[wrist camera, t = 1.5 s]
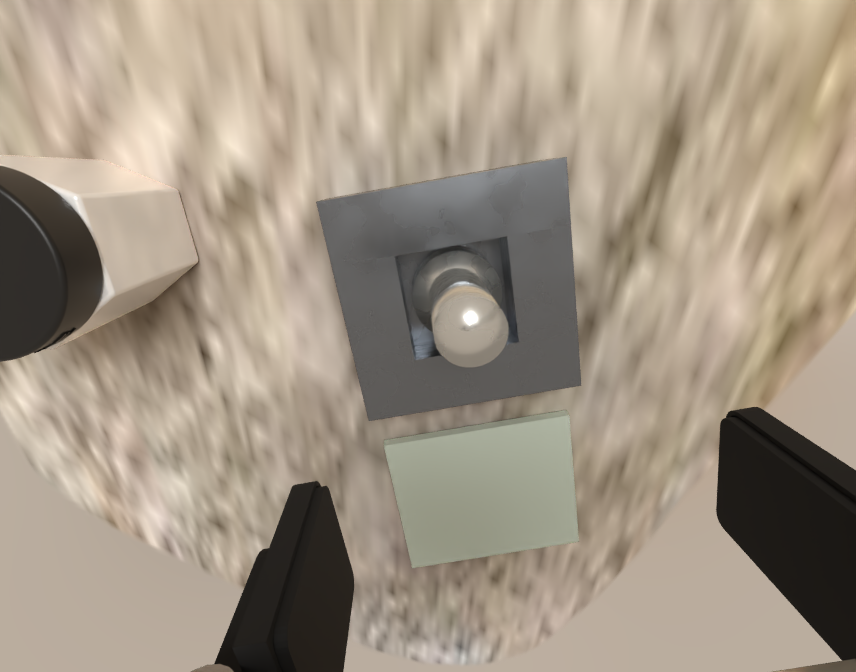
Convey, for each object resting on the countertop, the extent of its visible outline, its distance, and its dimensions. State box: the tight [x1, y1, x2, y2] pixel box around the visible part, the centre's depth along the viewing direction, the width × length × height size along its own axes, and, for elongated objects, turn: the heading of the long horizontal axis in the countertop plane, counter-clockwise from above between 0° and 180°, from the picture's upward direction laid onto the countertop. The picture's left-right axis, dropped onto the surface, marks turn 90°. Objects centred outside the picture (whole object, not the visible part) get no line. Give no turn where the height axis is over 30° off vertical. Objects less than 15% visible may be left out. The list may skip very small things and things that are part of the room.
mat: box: [384, 410, 579, 568], centre depth 37 cm, size 14×12×1 cm
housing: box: [316, 157, 581, 421], centre depth 30 cm, size 14×14×4 cm
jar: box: [0, 155, 198, 362], centre depth 24 cm, size 9×8×12 cm
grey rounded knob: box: [412, 247, 509, 367], centre depth 26 cm, size 6×6×9 cm
